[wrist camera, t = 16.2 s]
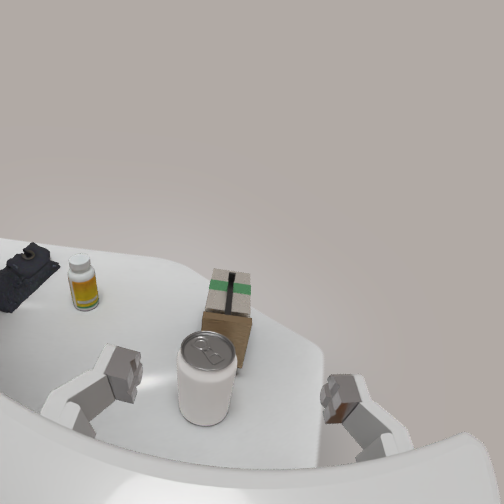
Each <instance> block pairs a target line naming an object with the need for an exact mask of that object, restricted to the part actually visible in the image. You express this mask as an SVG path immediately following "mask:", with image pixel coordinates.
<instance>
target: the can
mask: <svg viewBox="0 0 504 504" xmlns="http://www.w3.org/2000/svg"><path fill="white" fill-rule="evenodd" d="M236 370H237V357H236V352H235V347H234V345H233V343H232V342H231V341H230V340H229V339H228V338H227V337H225V336H224V335H222V334H219V333H216V332H212V331H199V332H195V333H192V334H190V335H189V336H187V337H186V338H185V339H184V340H183V342H182V344H181V348H180V350H179V352H178V355H177V380H178V397H179V407H180V411H181V413H182V415H183V416H184V417H185V418H186V419H187V420H188V421H190V422H191V423H193V424H196V425H200V426H211V425H215V424H217V423H219V422H220V421H222V420H223V419H224V418H225V416H226V414H227V412H228V408H229V403H230V399H231V394H232V389H233V385H234V380H235V375H236Z"/></svg>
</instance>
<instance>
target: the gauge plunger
mask: <svg viewBox="0 0 504 504" xmlns="http://www.w3.org/2000/svg"><path fill="white" fill-rule="evenodd" d="M235 276H236V273H233V272H229V276H228V288H227V297H226V306H225V314H218V313H212V312H205V311H204V313H203V317H202V329H201V331H212V332H216V333H219V334H222V335H224V336H225V337H227V338H228V339H229V340H230V341H231V342H232V343H233V345H234V347H235V352H236V357H237V368H242V365H243V361H244V356H245V352H246V348H247V344H248V339H249V335H250V331H251V326H252V318H248V317H240V316H232V315H231V310H232V298H233V286H234V282H235Z"/></svg>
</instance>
